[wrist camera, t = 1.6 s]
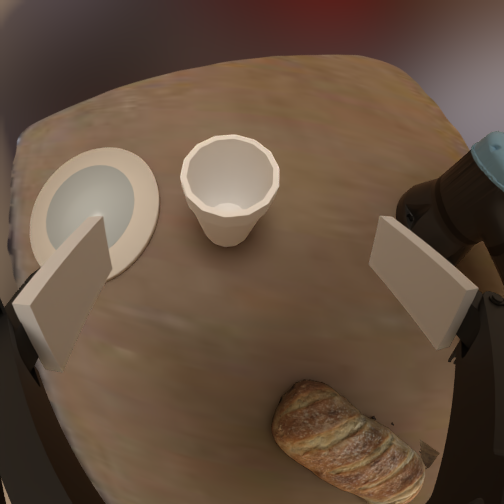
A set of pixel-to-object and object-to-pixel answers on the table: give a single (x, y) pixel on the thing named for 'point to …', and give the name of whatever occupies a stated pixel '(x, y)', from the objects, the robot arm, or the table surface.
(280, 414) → the bread loaf
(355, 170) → the table surface
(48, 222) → the plate
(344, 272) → the table surface
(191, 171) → the foam cup
